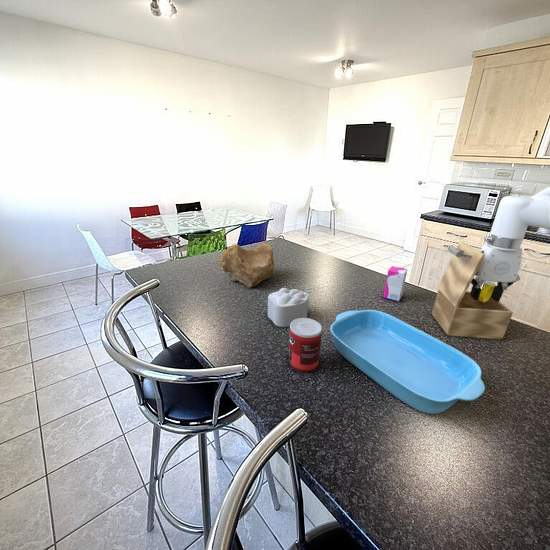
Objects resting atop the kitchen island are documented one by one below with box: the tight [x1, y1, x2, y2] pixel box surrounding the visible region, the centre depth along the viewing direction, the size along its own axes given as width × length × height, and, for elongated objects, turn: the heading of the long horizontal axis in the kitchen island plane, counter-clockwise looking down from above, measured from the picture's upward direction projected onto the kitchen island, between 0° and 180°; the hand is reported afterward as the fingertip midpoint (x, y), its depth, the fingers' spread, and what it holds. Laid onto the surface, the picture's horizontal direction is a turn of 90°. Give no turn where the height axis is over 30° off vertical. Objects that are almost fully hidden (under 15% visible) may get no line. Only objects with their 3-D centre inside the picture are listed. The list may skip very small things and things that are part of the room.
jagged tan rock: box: [219, 242, 275, 289], centre depth 117 cm, size 23×17×15 cm
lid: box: [437, 240, 485, 307], centre depth 86 cm, size 16×13×5 cm
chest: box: [431, 289, 514, 340], centre depth 91 cm, size 16×13×9 cm
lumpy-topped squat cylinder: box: [267, 287, 310, 328], centre depth 94 cm, size 10×13×9 cm
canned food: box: [287, 317, 323, 372], centre depth 73 cm, size 8×8×11 cm
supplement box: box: [382, 265, 408, 303], centre depth 108 cm, size 6×6×12 cm
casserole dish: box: [329, 309, 486, 415], centre depth 73 cm, size 37×22×7 cm, turn 35°
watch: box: [479, 281, 496, 303], centre depth 88 cm, size 6×3×6 cm, turn 125°
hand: (484, 298), depth 89 cm, fingers closed on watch, 5 cm apart
